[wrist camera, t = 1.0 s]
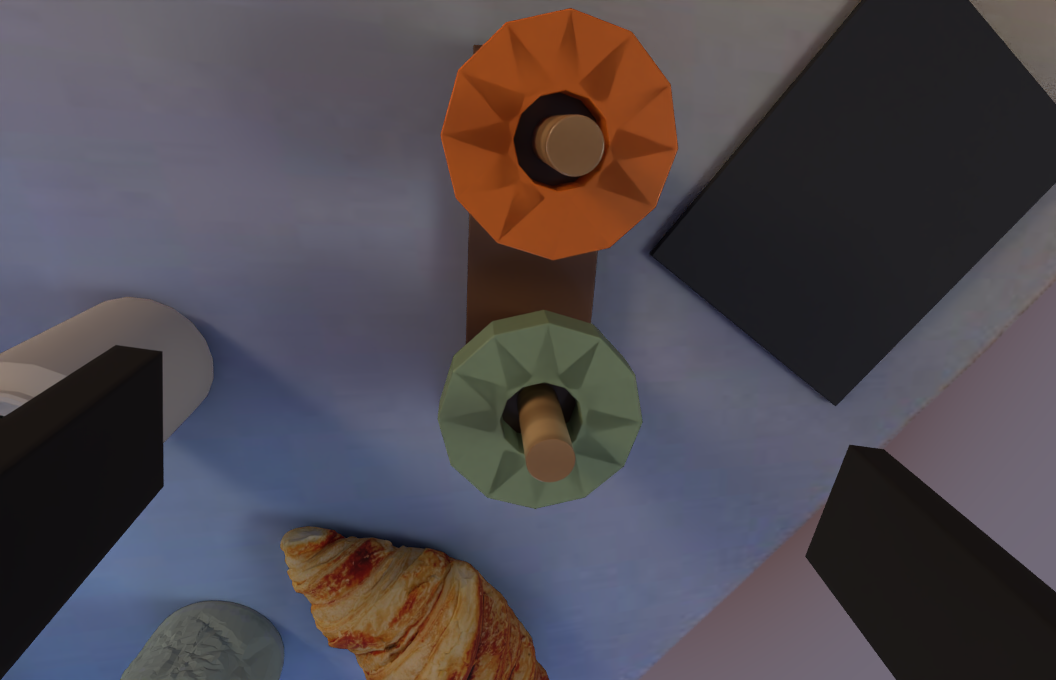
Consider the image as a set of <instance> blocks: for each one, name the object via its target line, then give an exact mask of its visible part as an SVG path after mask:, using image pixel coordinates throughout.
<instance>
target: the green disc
mask: <svg viewBox="0 0 1056 680" xmlns="http://www.w3.org/2000/svg"><path fill="white" fill-rule="evenodd" d="M544 382H545V383H549V384H552V385H556V386H560V387H563V388H565V389H566V390H567V391H568V392H569V393H570V394H571V395H572V396H573V397H574V398H575V401H576V405H575V407H574V410H573V413H572V415H571V418H570V420H569V421H568V422H567V423H566V426H567V429H568V433H569V436H570V439H571V442H572V446H573V449H574V452H575V457H576V461H575V465H574V468H573V470H572V471H571V473H570V474H569V475H568V476H567V477H565V478H564V479H562V480H559V481H556V482H542V481H540V480H537V479H536V478H534V477H533V476H532V475H531V474H530V473H529V471H528V469H527V467H526V461H525V454H524V448H523V441H522V435H521V433H517V432H515V431H514V430H513V429H512V428H511V427H510V426H509V425H508V424H507V423H506V422H505V421H504V420H503V417H502V414H503V411H504V408H505V405H506V402H507V400H508V399H510V398H511V397H512V396H513V395H514V394H515V393H517V392H518V391H519V390H520V389H521V388H522V387H526V386H531V385H535V384H539V383H544ZM438 422H439V426H440V429H441V432H442V436H443V439H444V443H445V446H446V450H447V453H448V457H449V460H450V464H451V466H452V467H454V468H455V469H456V470H457V471H458V472H459V473H460V474H461V475H463V476H464V477H465V478H466V479H467V480H468V481H469V482H470V483H471V484H473V485H474V486H475V487H476V488H477V489H478V490H479V491H480V492H482V493H483V494H484V495H485V496H486V497H487V498H491V499H495V500H500V501H504V502H508V503H512V504H517V505H521V506H525V507H530V508H534V509H536V508H541V507H545V506H549V505H554V504H558V503H563V502H567V501H572V500H576V499H580V498H584V497H586V496H587V495H588V494H590V493H591V492H592V491H593V490H595V489H596V488H597V487H598V486H600V485H601V484H602V483H603V482H605V481H606V480H607V479H608V478H610V477H611V476H612V475H613V474H615V473H616V472H617V471H618V470H620V469H621V468H622V467H624V465H625V462H626V460H627V457H628V455H629V453H630V450H631V448H632V446H633V443H634V441H635V439H636V436H637V434H638V431H639V429H640V427H641V424H642V422H643V421H642V415H641V409H640V403H639V396H638V390H637V384H636V378H635V374H634V372H633V371H632V369H631V368H630V366H629V365H628V363H627V361H626V360H625V358H624V357H623V356H622V355H621V354H620V353H619V352H618V351H617V350H616V349H615V348H614V346H613V345H612V344H611V343H610V342H609V341H608V340H607V339H606V338H605V337H604V335H603V334H602V333H601V332H600V331H599V330H598V329H597V328H596V327H595V326H594V325H593V324H591V323H587V322H584V321H581V320H577V319H574V318H571V317H567V316H564V315H560V314H557V313H554V312H550V311H547V310H540V311H536V312H531V313H527V314H522V315H518V316H513V317H509V318H504V319H500V320H496V321H492V322H491V323H490V324H489V325H488V326H486V327H485V328H484V329H483V330H482V331H481V332H480V333H479V334H477V335H476V336H475V337H474V338H473V339H472V340H471V341H470V342H468V343H467V344H466V345H465V346H464V347H463V348H462V349H461V350H459V351H458V352H457V353H456V354H455V355H454V356H453V359H452V363H451V366H450V369H449V372H448V376H447V379H446V382H445V385H444V389H443V392H442V395H441V398H440V403H439V411H438Z"/></svg>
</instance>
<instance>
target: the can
mask: <svg viewBox="0 0 1056 680" xmlns="http://www.w3.org/2000/svg"><path fill="white" fill-rule="evenodd" d="M115 345H120V346H127V347H135V348H142V349H149V350H157V351H163V443H164V442H165V441H166V440H167V439H168V438H169V437H170V436H171V435H172V434H173V433H174V432H175V431H176V429H177V428H178V427H179V426H180V425H181V424H182V423H183V422H184V421H185V420H186V419H187V418H188V417H189V416H190V415H191V414H192V413H193V411H194V410H195V409H196V408H197V407H198V406H199V405H200V404H201V402H202V401H203V400H204V399H205V398H206V397H207V395H208V392H209V389H210V387H211V384H212V381H213V358H212V355H211V353H210V350H209V348H208V345H207V342H206V340H205V338H204V337H203V336H202V335H201V333H200V332H199V331H198V330H197V328H196V327H195V326H194V324H193V323H192V322H191V321H190V320H188V319H187V318H185V317H184V316H183V315H181V314H180V313H179V312H177V311H176V310H175V309H173V308H171V307H169V306H166V305H163V304H161V303H158V302H156V301H153V300H151V299H142V298H132V297H124V298H119V299H114V300H108V301H104V302H102V303H100V304H98V305H96V306H94V307H92V308H90V309H88V310H86V311H84V312H82V313H80V314H78V315H76V316H74V317H72V318H70V319H68V320H66V321H64V322H62V323H60V324H58V325H56V326H54V327H52V328H50V329H48V330H46V331H44V332H42V333H40V334H38V335H36V336H34V337H32V338H30V339H28V340H26V341H24V342H22V343H21V344H19V345H17V346H15V347H13V348H11V349H9V350H7V351H5V352H3V353H1V354H0V419H1V418H3V417H4V416H6V415H7V414H9V413H10V412H12V411H14V410H15V409H17V408H18V407H20V406H21V405H23V404H24V403H26V402H28V401H29V400H31V399H32V398H34V397H35V396H37V395H39V394H40V393H42V392H43V391H45V390H46V389H48V388H49V387H51V386H53V385H54V384H56V383H57V382H59V381H60V380H62V379H63V378H65V377H67V376H68V375H70V374H71V373H73V372H74V371H76V370H77V369H79V368H81V367H82V366H84V365H85V364H87V363H88V362H90V361H91V360H93V359H95V358H96V357H98V356H99V355H101V354H102V353H104V352H106V351H107V350H109V349H110V348H112V347H113V346H115Z"/></svg>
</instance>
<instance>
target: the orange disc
mask: <svg viewBox="0 0 1056 680" xmlns="http://www.w3.org/2000/svg"><path fill="white" fill-rule="evenodd" d="M558 92H559V93H562V94H565V95H567V96H570V97H573V98H576V99H578V100H581V101H582V102H583V104H584V105H585V106H586V107H587V109H588V110H589V111H590V112H591V114H592V115H593V116H594V118H595V119H596V124H597V125H598V126H599V127H600V129H601V131H602V133H603V136H604V142H605V147H604V153H603V156H602V159H601V161H600V162H599V164H598V165H597V166H596V167H595V168H594V169H593V170H592V171H591V172H589V173H587V174H585V175H582V176H580V177H579V178H578V179H577V180H576V181H574V182H569V183H565V184H560V185H556V186H550V185H547V184H544V183H541V182H538V181H535V180H532V179H531V178H530V177H529V176H528V175H527V174H526V173H525V171H524V170H523V169H522V168H521V167H520V166H519V163H518V158H517V154H516V149H515V144H514V136H515V133H516V130H517V127H518V123H519V120H520V117H521V114H522V113H523V112H524V111H525V110H526V109H527V108H528V107H529V106H530V105H531V104H533V103H534V102H535V101H536V100H537V99H538V98H539V97H540V96H545V95H549V94H554V93H558ZM441 140H442V144H443V148H444V152H445V156H446V160H447V164H448V169H449V173H450V177H451V181H452V185H453V189H454V193H455V197H456V199H457V200H458V201H459V202H460V203H461V204H462V205H463V207H464V208H465V209H466V210H467V211H468V212H469V213H470V214H471V215H472V216H473V217H474V218H475V219H476V221H477V222H478V223H479V224H480V225H481V226H482V227H483V228H484V229H485V230H486V231H487V232H488V234H489V235H490V236H491V237H492V238H493V239H494V240H495V241H496V242H497V243H499V244H502V245H505V246H509V247H512V248H515V249H518V250H521V251H525V252H528V253H531V254H534V255H538V256H541V257H544V258H547V259H550V260H557V259H562V258H566V257H571V256H575V255H579V254H584V253H588V252H593V251H597V250H602V249H606V248H610V247H611V246H612V245H613V244H614V243H616V242H617V241H618V240H619V239H620V238H621V237H622V236H623V235H625V234H626V233H627V232H628V231H629V230H630V229H631V228H633V227H634V226H635V225H636V224H637V223H638V222H639V221H641V220H642V219H643V218H644V217H645V216H646V215H647V214H649V213H650V212H651V211H652V210H653V209H654V208H655V207H656V205H657V202H658V200H659V197H660V194H661V192H662V189H663V187H664V184H665V181H666V179H667V176H668V174H669V171H670V169H671V166H672V163H673V161H674V158H675V156H676V153H677V150H678V143H677V135H676V126H675V118H674V109H673V101H672V92H671V85H670V83H669V82H668V80H667V79H666V77H665V76H664V75H663V73H662V72H661V71H660V69H659V68H658V67H657V65H656V64H655V62H654V61H653V60H652V58H651V57H650V56H649V54H648V53H647V52H646V50H645V49H644V48H643V46H642V45H641V43H640V42H639V41H638V39H637V38H636V37H635V35H634V34H633V33H632V32H631V31H629V30H626V29H624V28H621V27H618V26H616V25H613V24H611V23H608V22H606V21H603V20H600V19H598V18H595V17H593V16H590V15H588V14H585V13H582V12H580V11H577V10H575V9H572V8H569V9H564V10H560V11H555V12H551V13H546V14H542V15H537V16H533V17H528V18H523V19H519V20H514V21H510V22H506V23H505V24H504V25H503V26H502V27H501V28H500V29H499V30H498V31H497V32H496V33H495V34H494V35H493V36H492V37H491V38H490V39H489V40H488V41H487V42H486V43H485V44H484V45H483V46H482V47H481V48H480V49H479V50H478V51H477V52H476V53H475V54H474V55H473V56H472V57H471V58H470V59H469V60H468V61H467V62H466V63H465V64H464V65H463V66H462V67H461V68H460V69H459V70H458V72H457V76H456V80H455V83H454V87H453V91H452V94H451V98H450V102H449V105H448V109H447V113H446V116H445V120H444V124H443V128H442V131H441Z"/></svg>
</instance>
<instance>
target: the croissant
mask: <svg viewBox="0 0 1056 680" xmlns="http://www.w3.org/2000/svg"><path fill="white" fill-rule="evenodd" d="M280 548H281V549H282V550H283V551H284V553H285V562H286V564H287V566H288V567H289V570H288V571H287V573H288V575H289V577H290V579H291V580H292V585H293V587H294V590H295V591H296V592H298V593H302V594H304V595H305V596H306V597H307V598H308V600H309V601H310V603H311V604H312V606H311V613H312V614H313V617H314V619H315V624H316V626H317V628H318V629H319V630H320V631H321V632H323V635H324V636H325V637H327V638H328V641H329V643H328V644H329V646H330V647H334V648H340V649H348V650H349V651H351V652H352V653H354V654H355V656H356V659H357V661H358V664H359V666H360V667H361V668H362V669H363V671H364V674H365V676H366V679H367V680H549V678H548V675H547V672H546V670H545V669H544V668H543V667H542V666H541V665H540V664H539V663H538V661H537V660H536V656H535V649H534V646H533V641H532V638H531V636H530V634H529V633H528V632H527V631H526V629H525V628H524V626H523V624H522V623H521V622H520V621H519V620H518V619H517V617H516V616H515V614H514V612H513V611H512V609H511V608H510V607H509V606H508V604H507V601H506V599H505V598H504V597H503V596H502V594H501V593H500V592H499V591H497V590H496V589H495V588H494V587H493V586H492V585H491V584H489V583H488V582H487V581H486V580H485V579H484V578H483V577H482V575H481V574H480V573H479V572H478V570H476V569H475V568H474V567H473V566H472V565H471V564H469V563H467V562H465V561H461V560H457V559H454V558H452V557H449V556H448V555H447V554H445V553H444V552H441V551H438V550H434V549H430V548H425V549H423V548H414V547H405V546H404V545H403V546H401V547H400V548H397V547H395V546H393V545H392V543H391V542H390V541H387V540H382V539H376V538H372V537H371V538H359V539H358V538H357V537H353V536H351V537H348V538H345V537H343V536H342V535H341V534H338V533H337V532H336V531H335V530H330V529H324V528H319V527H310V526H305V527H300V528H295V529H293V530H290V531H288V532H287V533H286V534H285V535H284V536H283V538H282V541H281V545H280Z"/></svg>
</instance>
